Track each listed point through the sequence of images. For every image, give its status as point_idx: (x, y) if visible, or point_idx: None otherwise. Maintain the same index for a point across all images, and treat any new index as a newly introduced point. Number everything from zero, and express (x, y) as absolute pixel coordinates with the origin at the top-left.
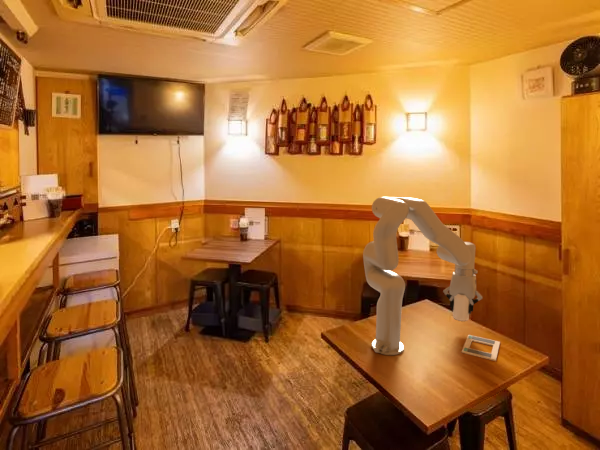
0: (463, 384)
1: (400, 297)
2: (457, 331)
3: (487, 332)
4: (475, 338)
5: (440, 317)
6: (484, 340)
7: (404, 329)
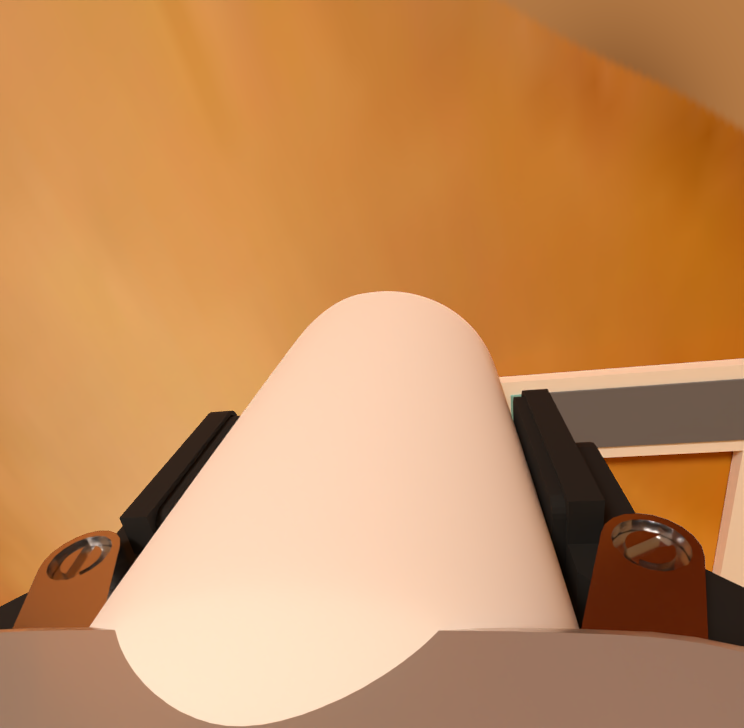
0: None
1: None
2: None
3: (676, 163)
4: (573, 428)
5: (98, 94)
6: (658, 421)
7: (54, 540)
